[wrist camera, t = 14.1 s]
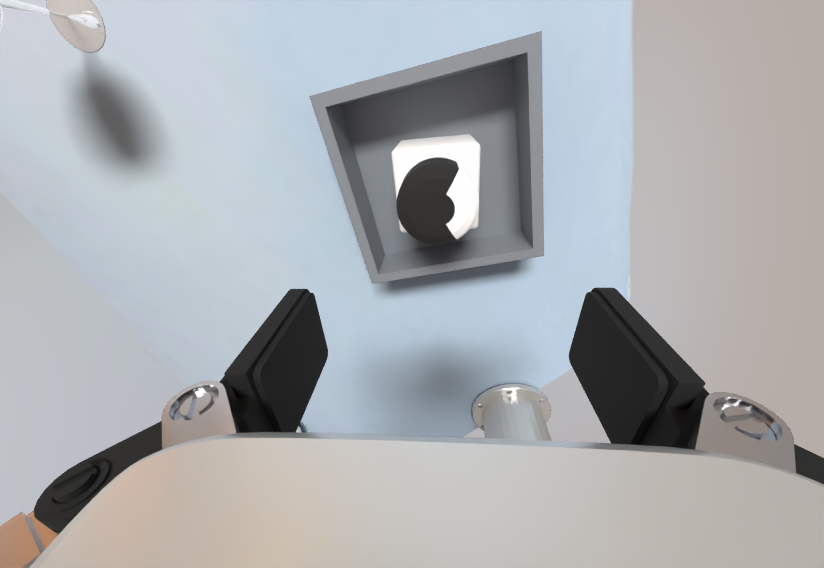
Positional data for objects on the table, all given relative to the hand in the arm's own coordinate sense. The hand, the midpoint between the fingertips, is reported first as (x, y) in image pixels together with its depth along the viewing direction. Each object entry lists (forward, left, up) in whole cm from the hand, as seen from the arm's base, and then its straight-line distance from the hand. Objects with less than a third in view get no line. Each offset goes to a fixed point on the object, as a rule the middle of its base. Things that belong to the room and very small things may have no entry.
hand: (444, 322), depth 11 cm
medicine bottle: (0, 0, -25) cm, 25 cm away
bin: (0, 0, -26) cm, 26 cm away
